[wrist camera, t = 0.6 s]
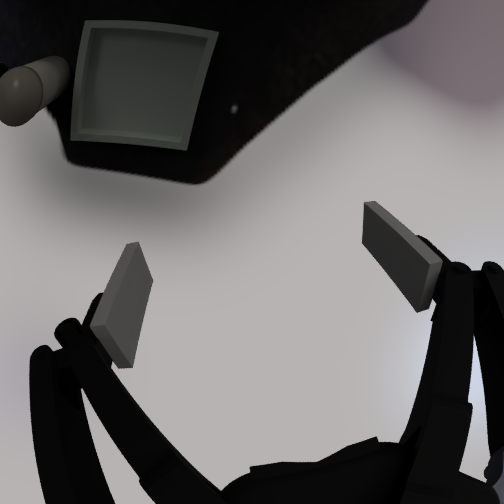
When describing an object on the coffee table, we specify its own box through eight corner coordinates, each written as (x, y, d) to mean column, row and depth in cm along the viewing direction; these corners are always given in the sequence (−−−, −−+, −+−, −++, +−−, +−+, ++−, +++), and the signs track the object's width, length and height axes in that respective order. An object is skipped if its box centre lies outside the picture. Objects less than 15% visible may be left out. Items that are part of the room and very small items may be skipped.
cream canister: (32, 56, 21) (-7, 71, 15) (75, 53, 24) (42, 64, 17) (29, 102, 26) (-7, 127, 19) (69, 101, 28) (39, 125, 21)
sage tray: (92, 20, 21) (85, 20, 19) (216, 32, 27) (219, 32, 25) (77, 132, 32) (70, 140, 29) (186, 141, 37) (186, 150, 35)
